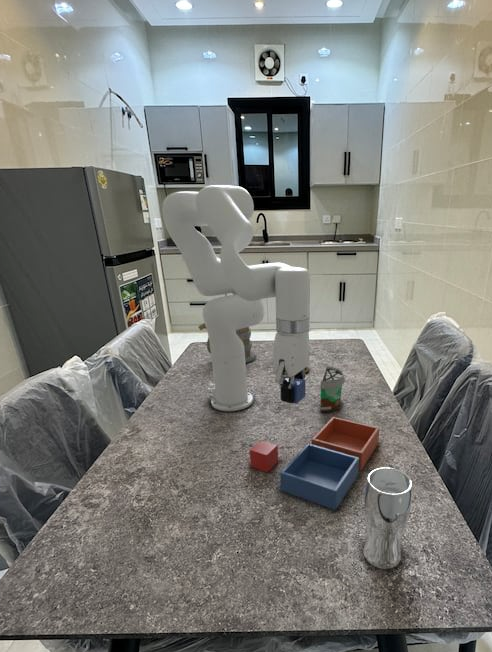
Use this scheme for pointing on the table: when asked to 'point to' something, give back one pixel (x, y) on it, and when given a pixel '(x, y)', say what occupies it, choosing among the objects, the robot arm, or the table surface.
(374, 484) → the beer glass
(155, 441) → the table surface
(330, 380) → the food container
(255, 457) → the red block
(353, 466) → the blue bin
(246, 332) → the tankard
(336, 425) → the red bin
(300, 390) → the blue block
